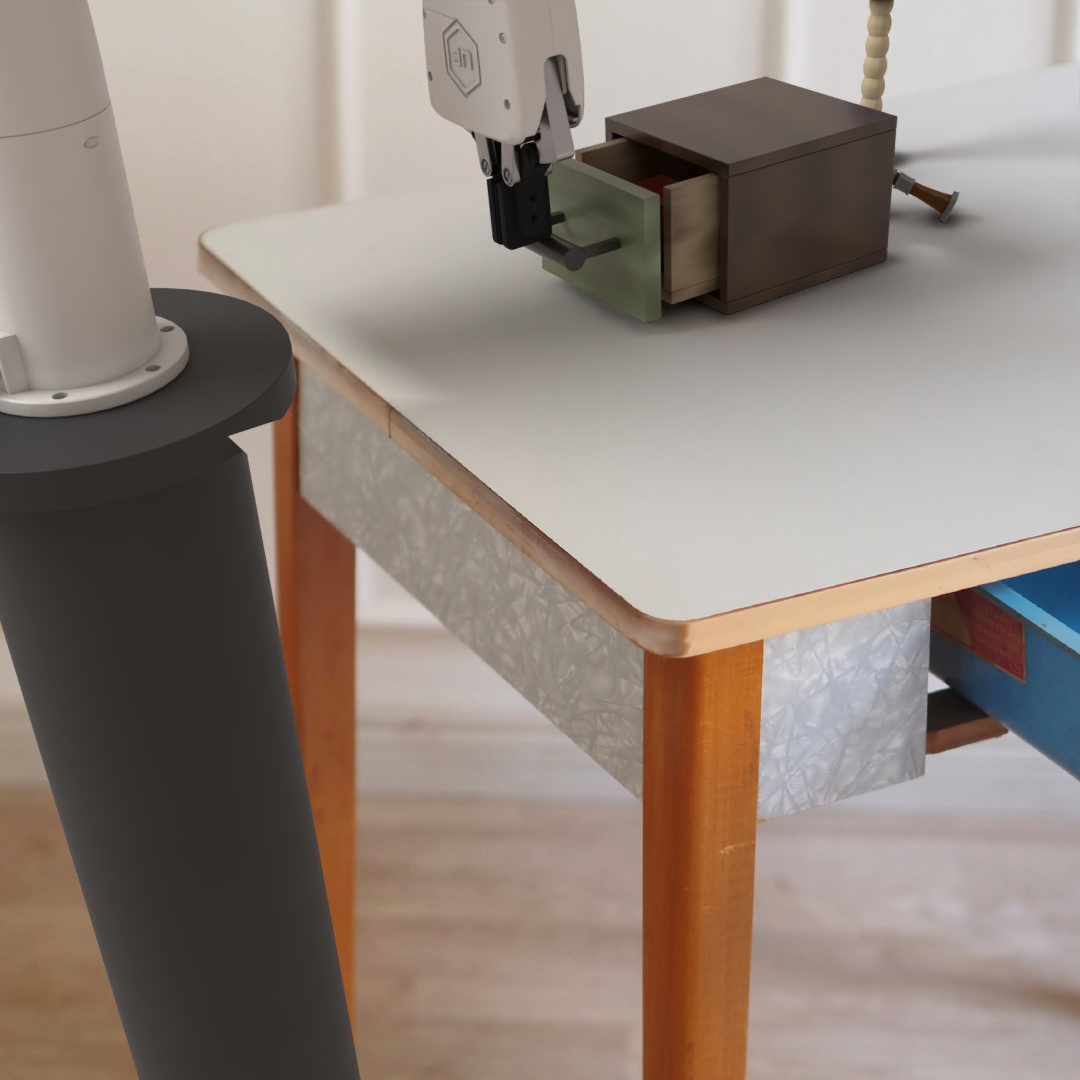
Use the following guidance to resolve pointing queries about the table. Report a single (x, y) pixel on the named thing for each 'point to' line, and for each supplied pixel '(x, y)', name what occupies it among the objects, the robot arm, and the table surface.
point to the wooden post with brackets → (925, 194)
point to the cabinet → (780, 181)
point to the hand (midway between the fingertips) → (523, 239)
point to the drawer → (633, 227)
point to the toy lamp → (876, 53)
